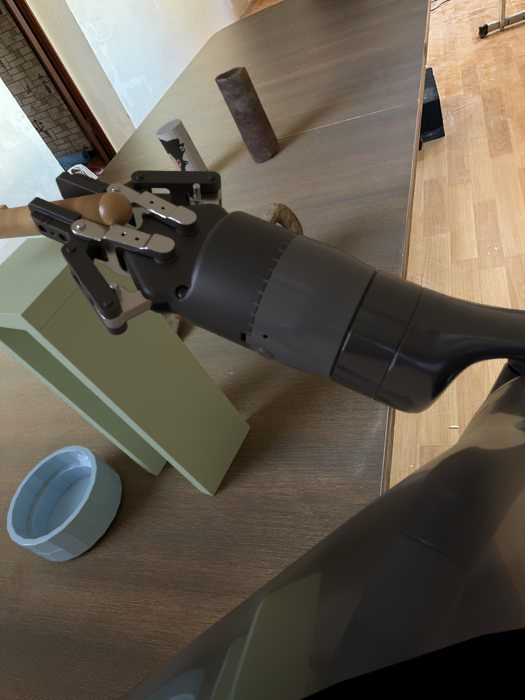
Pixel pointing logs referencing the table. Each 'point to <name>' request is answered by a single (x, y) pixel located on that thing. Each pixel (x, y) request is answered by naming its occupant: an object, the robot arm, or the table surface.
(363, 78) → the table surface
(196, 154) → the grey printed cylinder
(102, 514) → the bowl
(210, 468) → the stand
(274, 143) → the dark brown cylinder
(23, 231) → the wooden tool
